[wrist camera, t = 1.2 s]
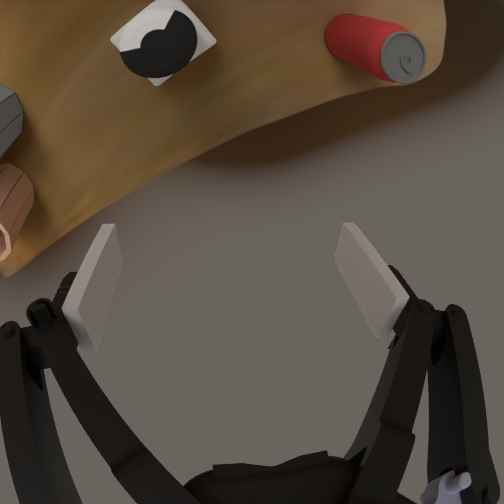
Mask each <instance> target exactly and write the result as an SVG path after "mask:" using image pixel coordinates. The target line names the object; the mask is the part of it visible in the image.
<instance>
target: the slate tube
mask: <svg viewBox="0 0 504 504" xmlns="http://www.w3.org/2000/svg"><path fill="white" fill-rule="evenodd" d="M14 93H15V92H14V91H12V90H10V89H8V88H6V87H5V86H3V85H1V84H0V158H1V157H2V156H3V154H4V153H5V152H6V151H7V150H8V149H9V148H10V146H11V145H12V144H13V142H14V141H15V140H16V139H17V137H18V136H19V135H20V134H21V131H22V121H23V113H24V112H23V109H22V107H21V105H20V102H19V100H18V98H17V95H16V93H15V94H14Z"/></svg>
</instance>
